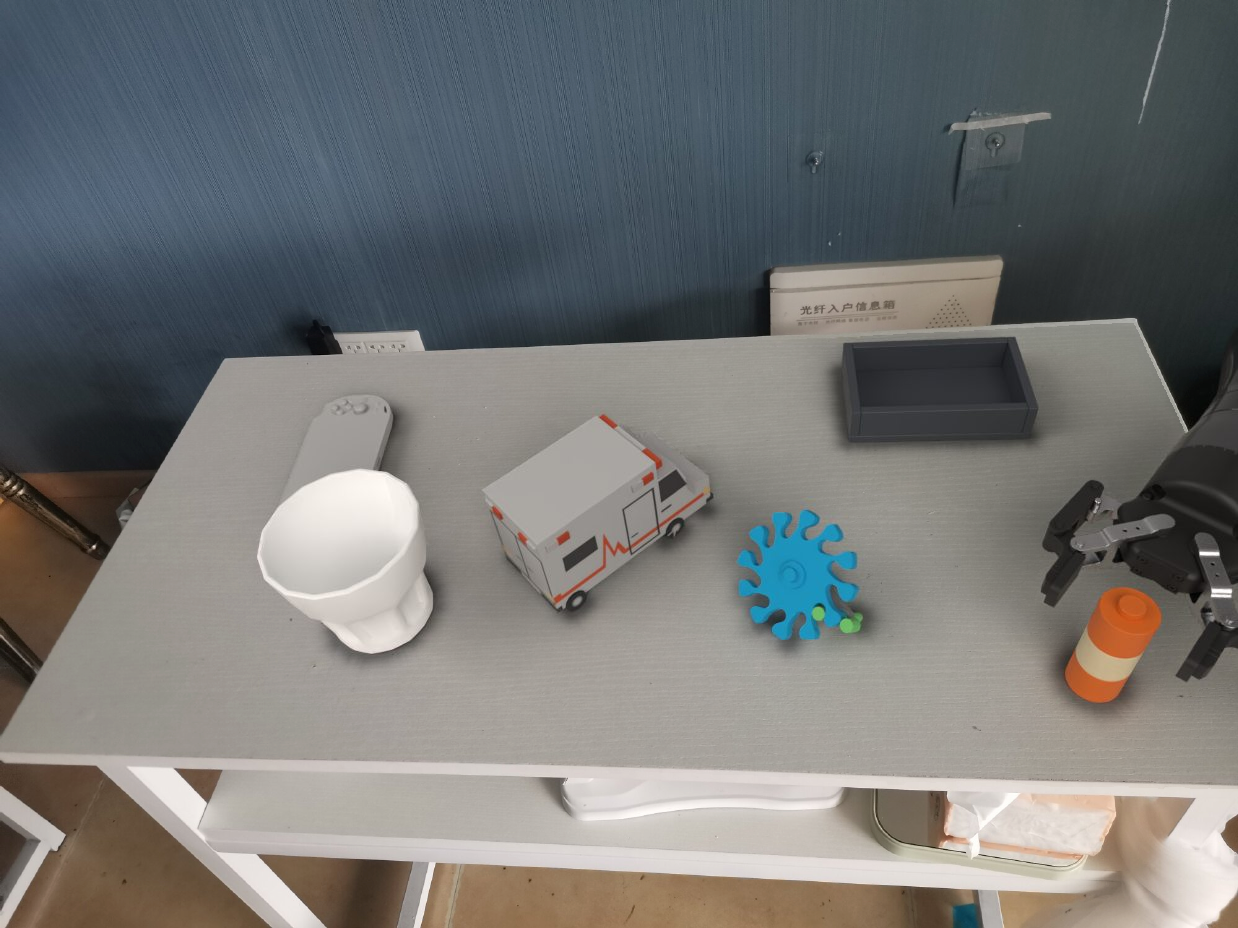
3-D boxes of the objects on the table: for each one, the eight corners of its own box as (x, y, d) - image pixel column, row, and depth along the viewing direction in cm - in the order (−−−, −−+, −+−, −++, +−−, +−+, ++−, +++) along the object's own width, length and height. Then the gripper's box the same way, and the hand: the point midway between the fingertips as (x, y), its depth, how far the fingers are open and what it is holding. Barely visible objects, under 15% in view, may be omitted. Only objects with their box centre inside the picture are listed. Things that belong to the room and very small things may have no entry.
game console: (351, 528, 78) (263, 531, 79) (360, 545, 80) (274, 548, 81) (395, 389, 90) (319, 393, 91) (403, 406, 92) (327, 410, 93)
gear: (710, 572, 71) (789, 481, 67) (748, 571, 76) (824, 486, 72) (798, 681, 65) (889, 588, 62) (833, 674, 70) (920, 587, 66)
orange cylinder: (1128, 674, 63) (1173, 598, 56) (1109, 712, 61) (1153, 639, 54) (1076, 648, 65) (1114, 572, 58) (1056, 684, 63) (1092, 610, 56)
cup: (281, 645, 74) (221, 567, 66) (371, 534, 81) (327, 451, 73) (400, 698, 69) (351, 621, 61) (484, 575, 76) (451, 491, 68)
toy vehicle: (722, 511, 77) (717, 431, 70) (565, 628, 71) (542, 554, 64) (651, 455, 83) (640, 376, 76) (500, 559, 77) (472, 484, 70)
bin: (1007, 367, 85) (1015, 336, 82) (1029, 439, 79) (1039, 408, 76) (840, 372, 87) (843, 342, 85) (849, 442, 81) (852, 413, 78)
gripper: (1132, 405, 65) (1021, 543, 58) (1358, 498, 57) (1261, 669, 50) (1104, 474, 70) (999, 607, 63) (1306, 566, 63) (1212, 729, 56)
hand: (1115, 634), depth 57 cm, fingers open, 8 cm apart
